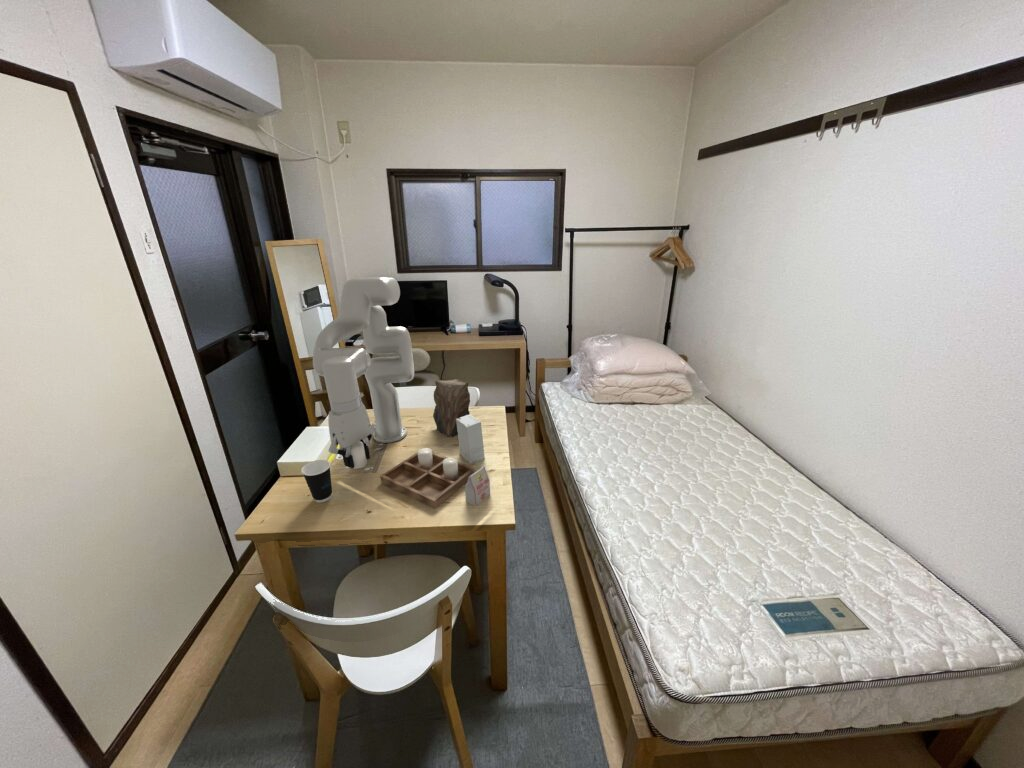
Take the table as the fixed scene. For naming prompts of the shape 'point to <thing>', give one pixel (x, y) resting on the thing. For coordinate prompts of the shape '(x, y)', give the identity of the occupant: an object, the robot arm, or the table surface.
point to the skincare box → (470, 438)
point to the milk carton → (477, 487)
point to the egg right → (450, 469)
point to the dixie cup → (318, 479)
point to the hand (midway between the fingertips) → (357, 461)
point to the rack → (425, 480)
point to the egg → (358, 454)
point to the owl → (450, 405)
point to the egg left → (425, 458)
